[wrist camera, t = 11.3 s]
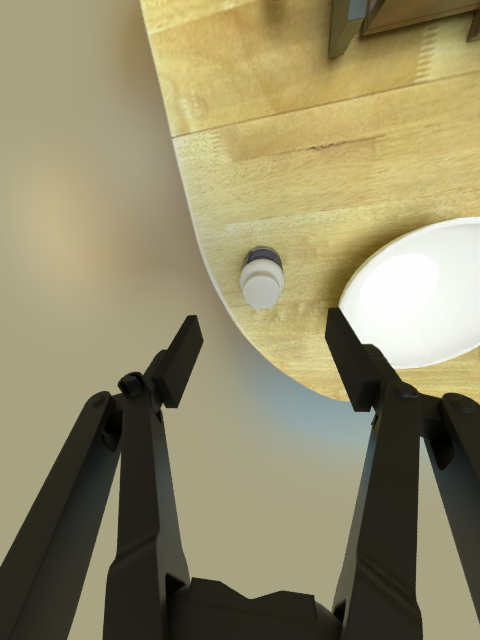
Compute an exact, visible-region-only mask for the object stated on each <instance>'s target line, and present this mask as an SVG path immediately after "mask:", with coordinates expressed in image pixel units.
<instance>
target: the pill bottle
mask: <svg viewBox="0 0 480 640" xmlns="http://www.w3.org/2000/svg"><path fill="white" fill-rule="evenodd" d="M284 284H285V279H284V273H283V268H282V263H281V259H280V256H279V254H278V253H277V252H276V251H275V250H274V249H273V248H271V247H268V246H258V247H255V248H253V249H252V250H250V251H249V252H248V254H247V255H246V257H245V259H244V262H243V266H242V269H241V273H240V277H239V286H240V289H241V292H242V293H243V298H244V300H245V302H246V303H247V304H248V305H249V306H251V307H252V308H255V309H268V308H270V307H272V306H273V305H274V304H275V303H276V302H277V301H278V299H279V297H280V294H281V293H282V291H283V288H284Z"/></svg>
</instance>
